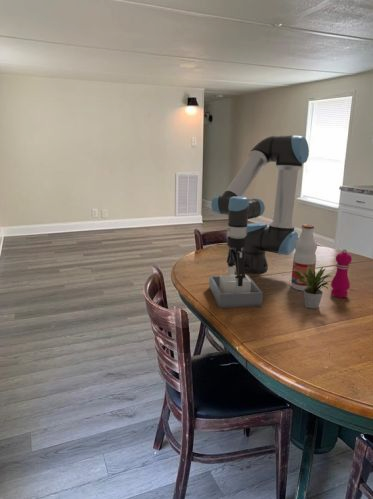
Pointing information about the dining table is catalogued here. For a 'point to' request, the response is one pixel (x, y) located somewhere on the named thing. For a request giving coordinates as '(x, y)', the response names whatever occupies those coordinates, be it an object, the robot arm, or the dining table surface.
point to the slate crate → (235, 295)
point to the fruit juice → (303, 257)
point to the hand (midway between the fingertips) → (234, 286)
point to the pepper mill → (341, 275)
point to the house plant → (314, 287)
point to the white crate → (233, 284)
